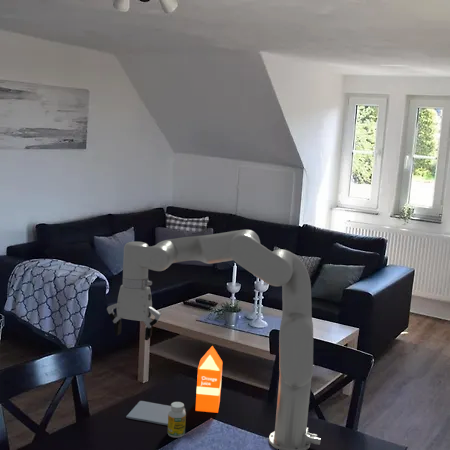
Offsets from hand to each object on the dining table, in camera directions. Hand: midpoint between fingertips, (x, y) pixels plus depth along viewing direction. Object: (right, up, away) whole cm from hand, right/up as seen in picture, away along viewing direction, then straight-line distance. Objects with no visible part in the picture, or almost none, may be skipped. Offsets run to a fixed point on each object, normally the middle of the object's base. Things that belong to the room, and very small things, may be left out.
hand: (132, 336), depth 195 cm
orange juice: (+22, -27, +20) cm, 40 cm away
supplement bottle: (+13, -30, 0) cm, 33 cm away
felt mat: (+6, -27, +12) cm, 30 cm away
